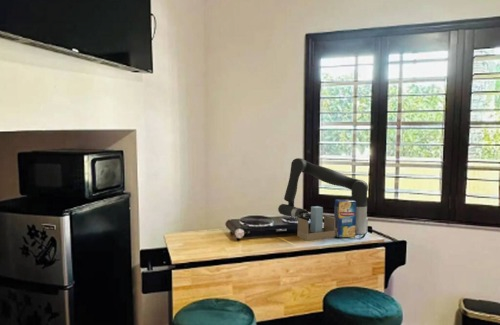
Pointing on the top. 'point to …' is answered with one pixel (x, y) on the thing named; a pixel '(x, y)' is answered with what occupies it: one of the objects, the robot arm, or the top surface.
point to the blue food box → (345, 218)
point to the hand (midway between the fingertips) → (314, 219)
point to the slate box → (316, 219)
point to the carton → (326, 233)
